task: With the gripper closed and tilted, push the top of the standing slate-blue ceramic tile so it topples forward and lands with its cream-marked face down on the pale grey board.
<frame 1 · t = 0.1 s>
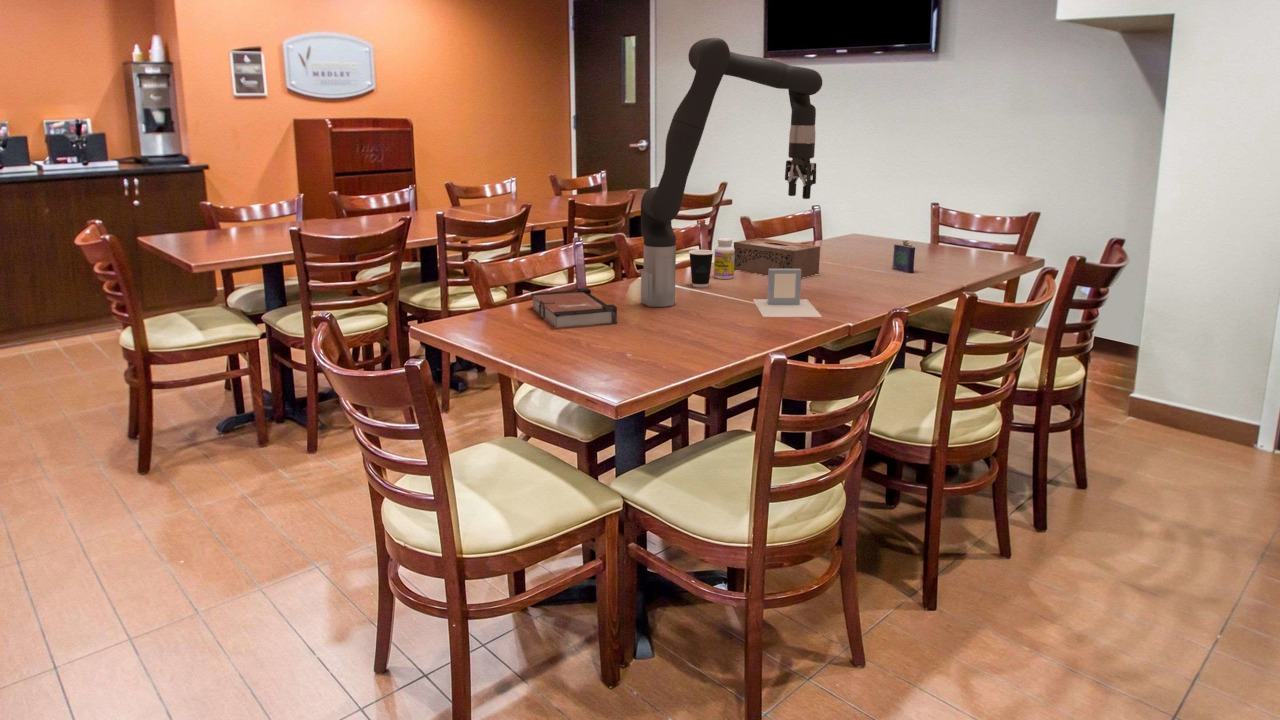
hand: (799, 197, 266), 29 cm above the table, tool pointing down, fingers open, 8 cm apart
dixie cup: (700, 286, 284), on the table
tile: (783, 303, 257), point 1 cm above the table, touching board
supplement bottle: (723, 278, 297), on the table
tissue box cover: (775, 273, 307), on the table
board: (785, 309, 252), on the table
book: (571, 317, 245), on the table
flask: (902, 271, 310), on the table
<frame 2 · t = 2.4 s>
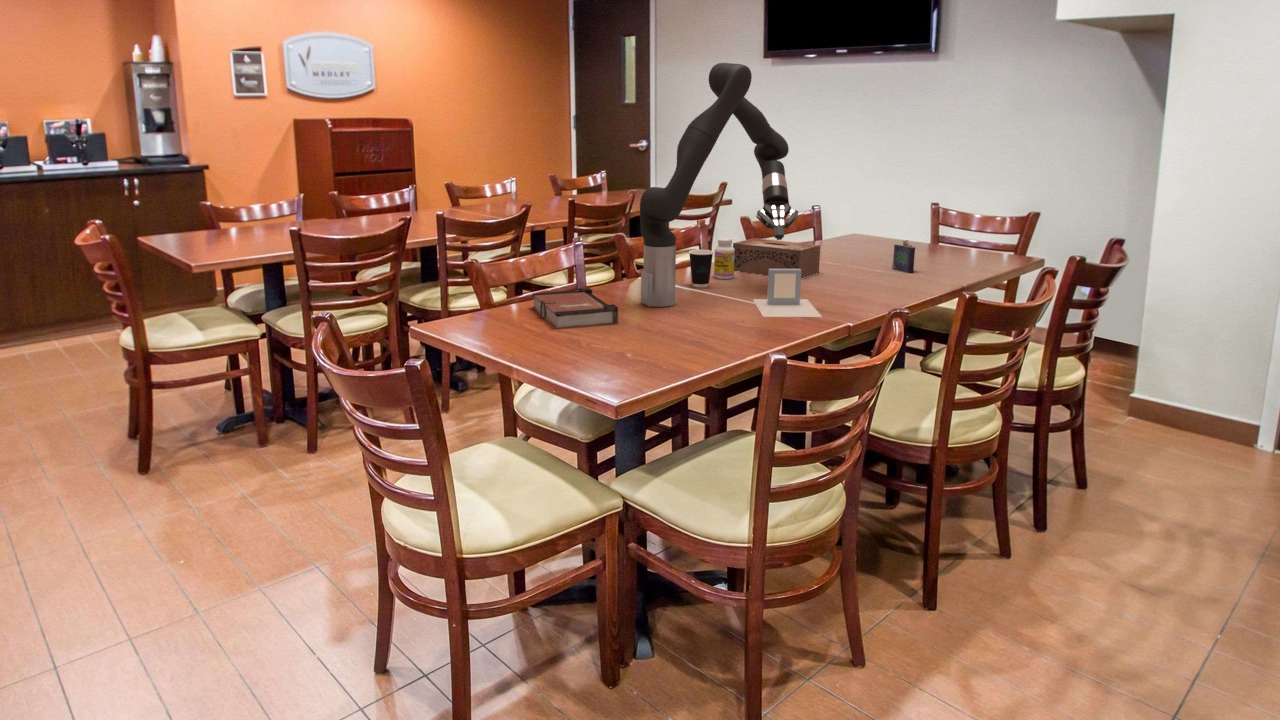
hand: (779, 238, 263), 18 cm above the table, tool tilted 45°, fingers closed
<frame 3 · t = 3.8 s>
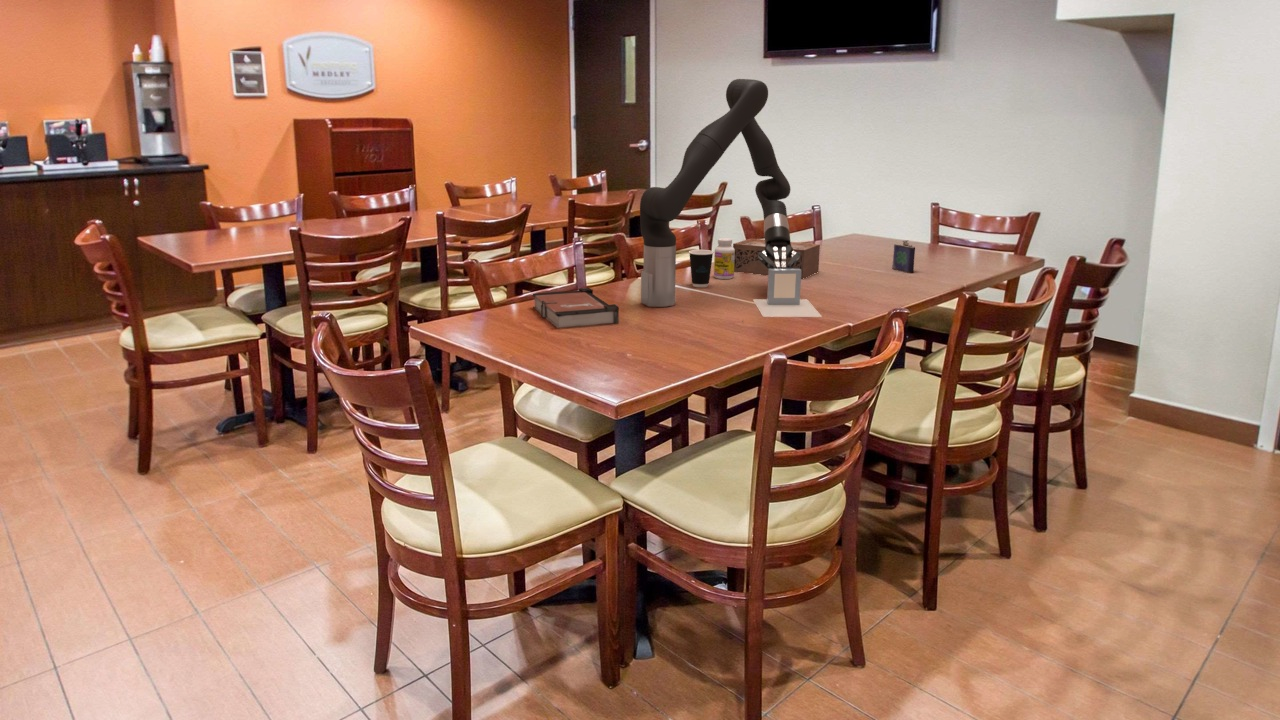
hand: (781, 280, 260), 6 cm above the table, tool tilted 45°, fingers closed
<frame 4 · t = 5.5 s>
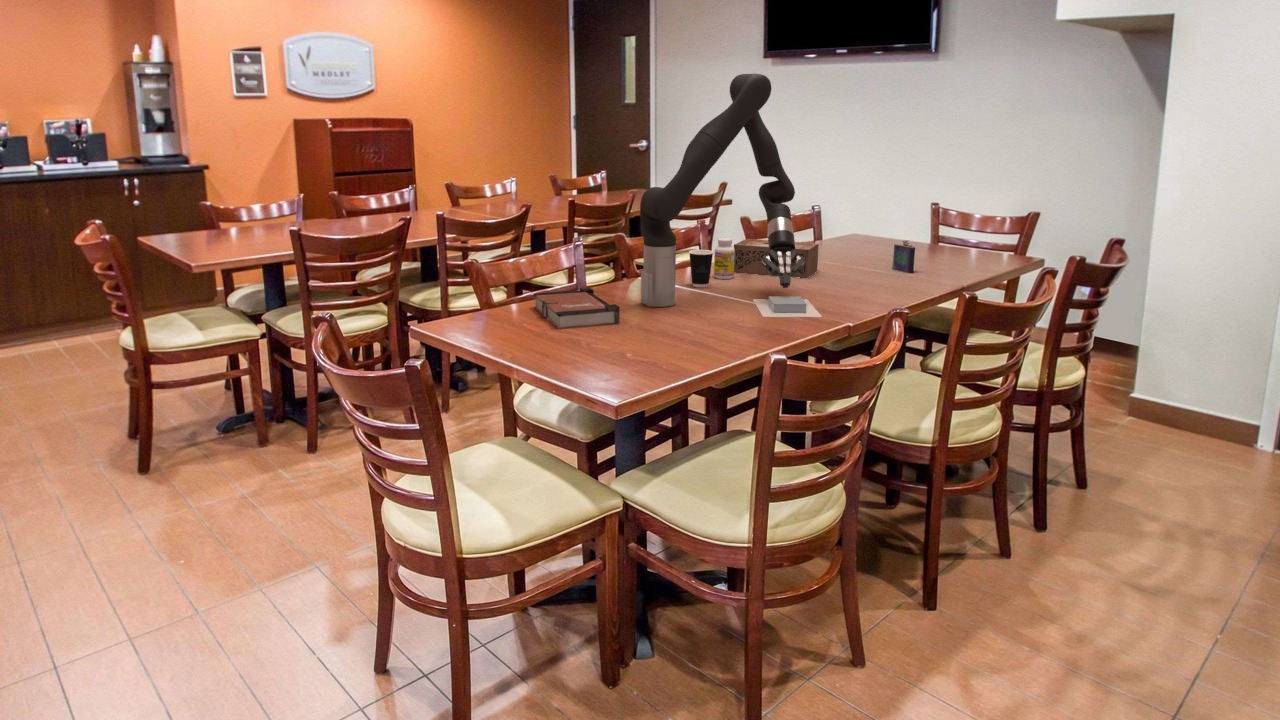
hand: (785, 286, 252), 6 cm above the table, tool tilted 45°, fingers closed
tile: (784, 300, 255), point 2 cm above the table, tilted 90°, touching board
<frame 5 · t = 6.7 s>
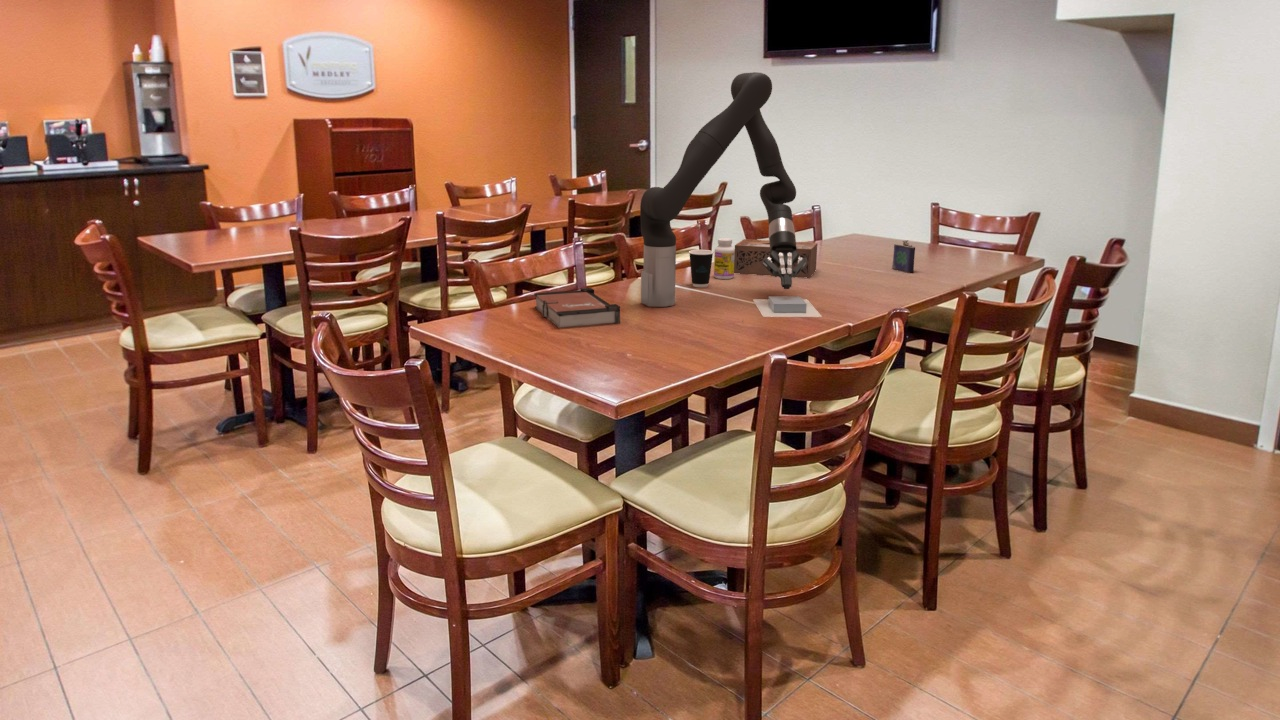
hand: (787, 287, 250), 6 cm above the table, tool tilted 45°, fingers closed
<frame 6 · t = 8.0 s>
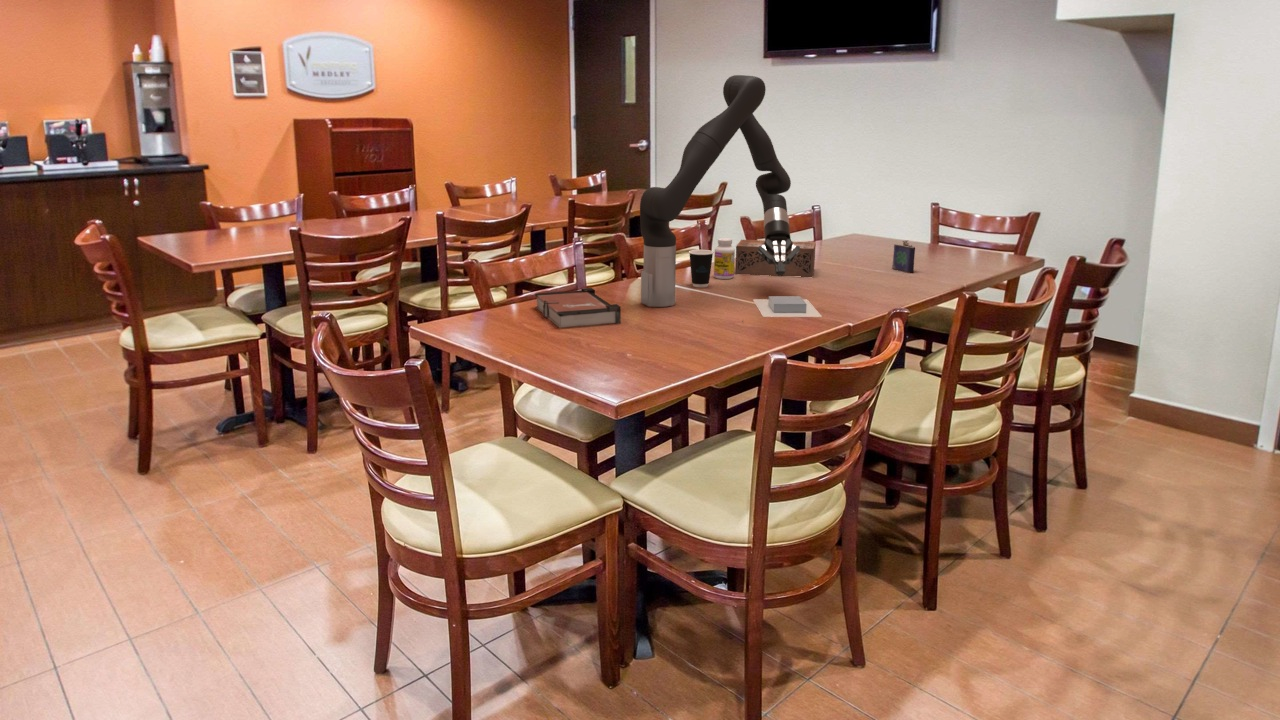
hand: (780, 274, 260), 8 cm above the table, tool tilted 45°, fingers closed
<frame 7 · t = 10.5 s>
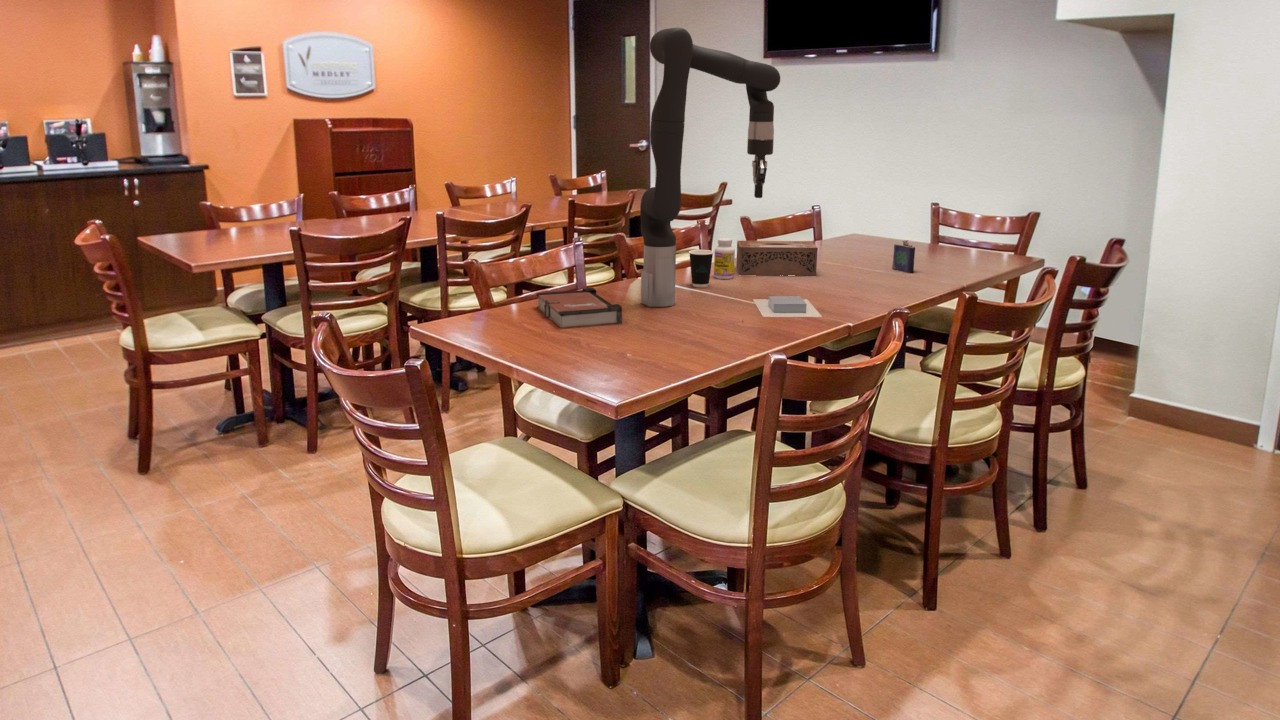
hand: (758, 197, 265), 29 cm above the table, tool pointing down, fingers closed
at the end: tile tilted 90°; tile inside the target area on the board (3.6 cm from its centre), point 1.9 cm above the board's base; the gripper is holding nothing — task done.
